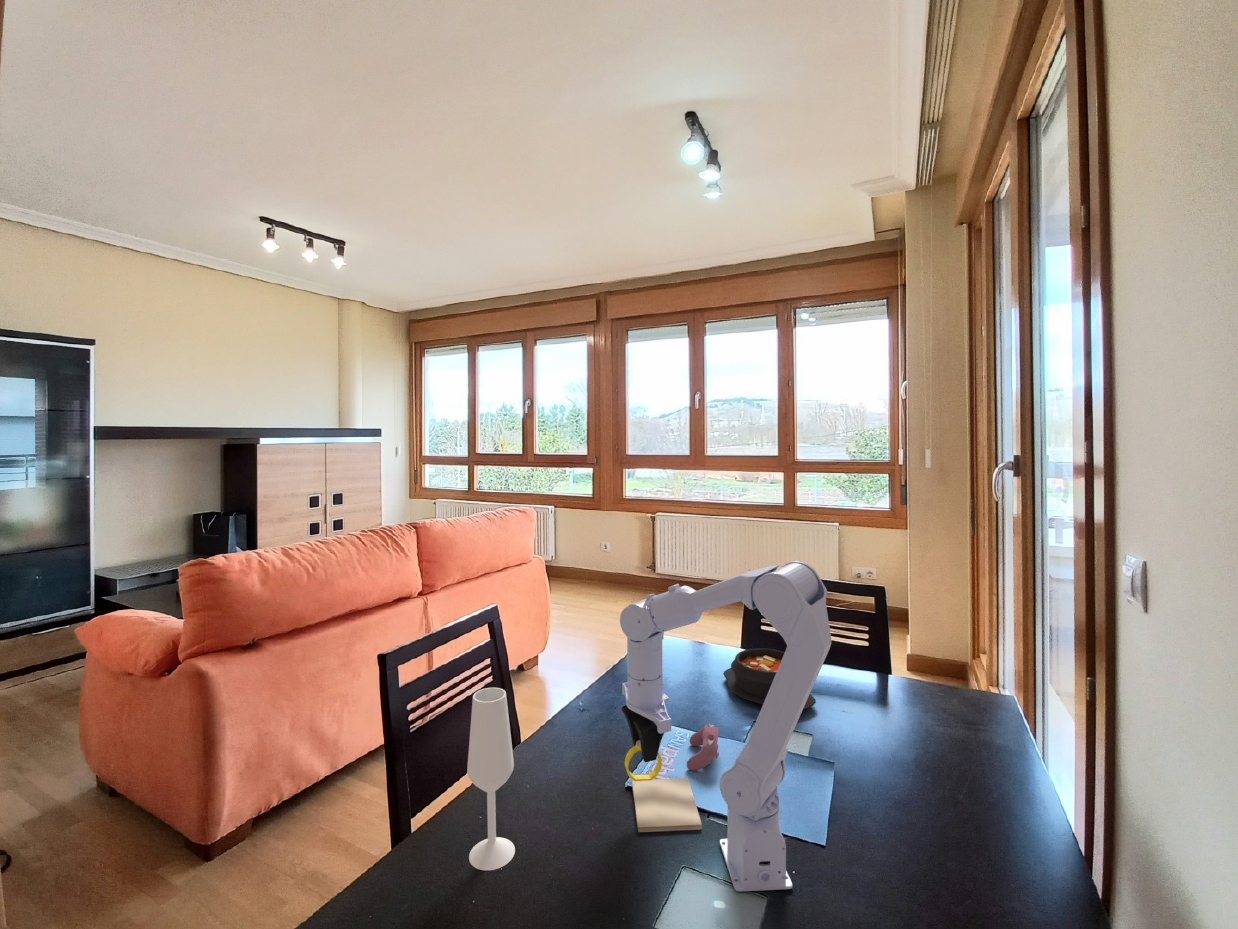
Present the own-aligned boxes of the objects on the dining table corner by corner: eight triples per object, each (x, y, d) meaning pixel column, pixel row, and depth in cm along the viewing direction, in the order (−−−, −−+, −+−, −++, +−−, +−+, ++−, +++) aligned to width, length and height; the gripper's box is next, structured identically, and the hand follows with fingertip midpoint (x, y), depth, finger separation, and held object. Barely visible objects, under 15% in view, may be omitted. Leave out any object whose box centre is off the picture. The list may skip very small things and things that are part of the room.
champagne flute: (524, 853, 83) (521, 695, 82) (483, 878, 79) (480, 710, 77) (499, 830, 88) (497, 680, 87) (460, 852, 83) (457, 694, 82)
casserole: (835, 710, 126) (836, 673, 126) (767, 726, 119) (768, 688, 119) (766, 667, 149) (766, 636, 149) (705, 679, 142) (706, 647, 142)
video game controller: (706, 782, 103) (724, 750, 102) (684, 769, 103) (701, 737, 102) (708, 752, 112) (724, 723, 111) (687, 740, 113) (703, 711, 112)
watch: (627, 786, 90) (627, 749, 90) (623, 776, 93) (623, 741, 93) (662, 782, 92) (663, 746, 91) (658, 772, 94) (658, 737, 94)
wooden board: (701, 829, 88) (701, 824, 88) (638, 832, 88) (638, 827, 87) (688, 782, 100) (688, 778, 100) (632, 784, 99) (632, 780, 99)
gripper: (688, 687, 87) (688, 773, 87) (647, 654, 100) (648, 728, 101) (647, 695, 84) (647, 784, 84) (610, 660, 97) (611, 737, 98)
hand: (645, 754), depth 92 cm, fingers closed on watch, 3 cm apart
